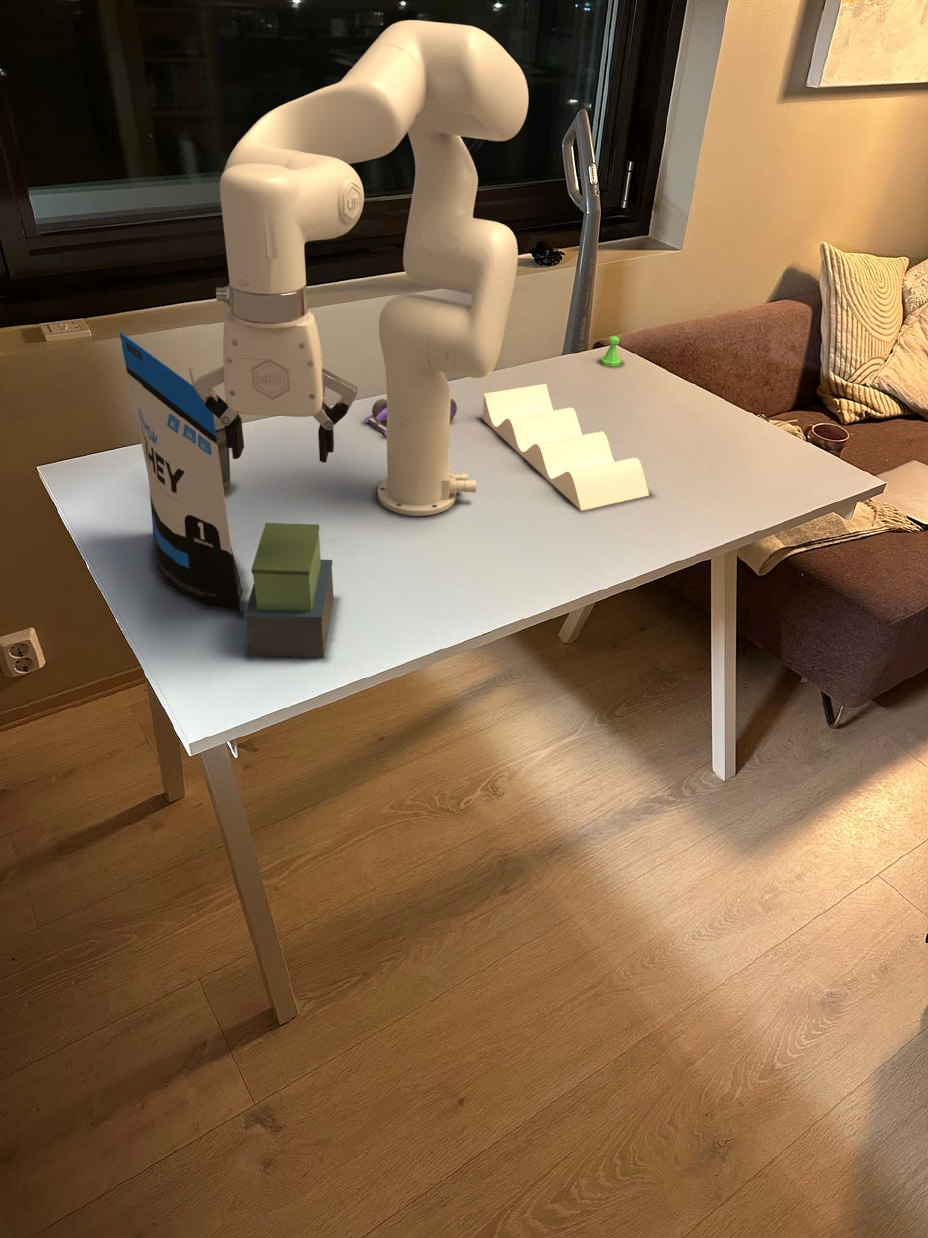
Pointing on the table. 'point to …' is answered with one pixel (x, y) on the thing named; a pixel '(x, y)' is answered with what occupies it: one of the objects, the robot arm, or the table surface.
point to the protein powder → (183, 482)
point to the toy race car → (381, 414)
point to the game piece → (611, 353)
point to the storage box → (293, 624)
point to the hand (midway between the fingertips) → (281, 455)
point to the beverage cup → (220, 447)
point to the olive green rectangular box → (287, 567)
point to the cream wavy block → (563, 448)
